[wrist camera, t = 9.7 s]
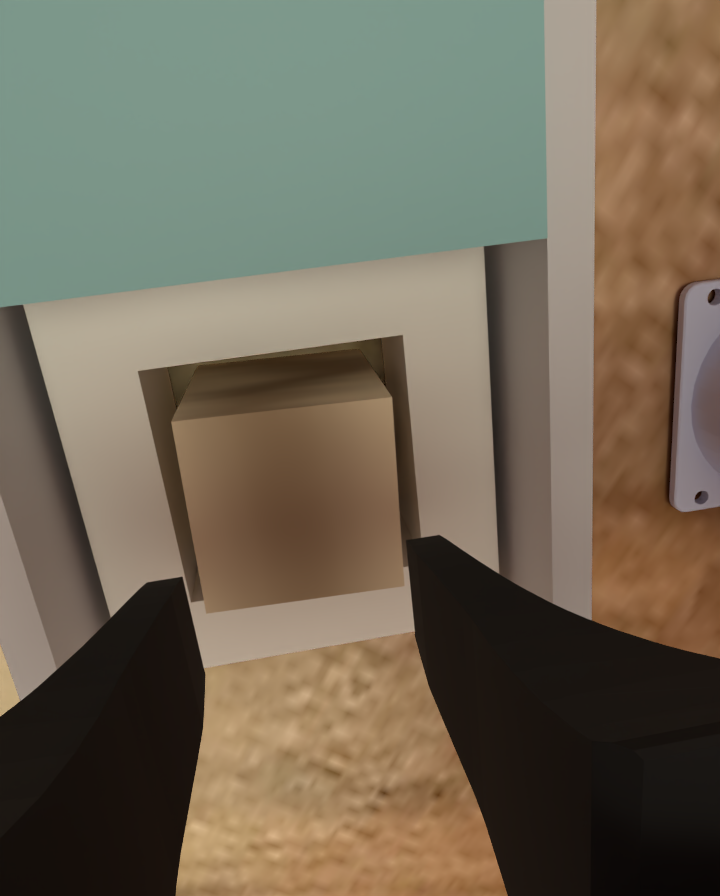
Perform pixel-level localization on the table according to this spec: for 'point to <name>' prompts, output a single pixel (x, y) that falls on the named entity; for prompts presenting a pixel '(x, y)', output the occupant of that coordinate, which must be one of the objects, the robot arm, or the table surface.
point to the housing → (303, 326)
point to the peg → (290, 479)
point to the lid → (261, 137)
